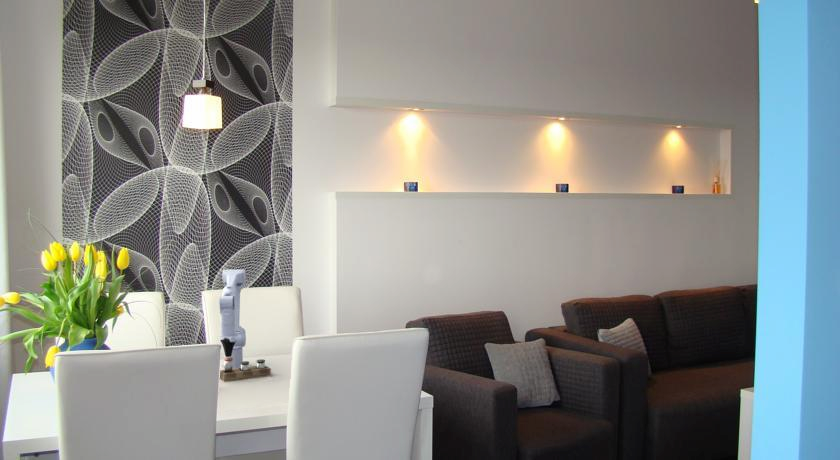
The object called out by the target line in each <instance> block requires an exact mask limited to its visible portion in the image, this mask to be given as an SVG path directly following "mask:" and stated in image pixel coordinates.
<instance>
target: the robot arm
mask: <svg viewBox="0 0 840 460" xmlns="http://www.w3.org/2000/svg"><path fill="white" fill-rule="evenodd" d="M246 273H247V271H246V269H244V268H243V269H225V268H224V269H223V270H222V274H221V275H222V276H221V277H222V284H223V286H224V287H223V289H222V294H221V297H219V301H218V305H219V313H220V337H221V338H222V339H220V342H221V345H222V347H223V351H224V355H223V356H224V358H228V357H231V358H233V360H232V369H236V368H241V362H243V361H244V360H243V359H244V357H243V354H244V353H243V352H244V351H243V348H244V347H246V343H247V342H246V341H247V337H246V336H247V335H246V330H245V328H244V327H243V326H241V325H240V312H241V311H240V310H241V291H242V290H243V289H245V287H246V280H247V279H246V278H247V274H246ZM222 367H223V368H225V364H222Z"/></svg>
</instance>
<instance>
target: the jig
mask: <svg viewBox="0 0 840 460" xmlns="http://www.w3.org/2000/svg"><path fill="white" fill-rule="evenodd" d="M270 376H272V368H270V367H269V366H267V365H265V368H263V369H257V365H255V366H249V370H247V371H241V368H236V369H233V371H232V372H225V369H220V378H219V379H220V380H221V381H223V382H232V381H239V380H247V379H254V378H262V377H270Z"/></svg>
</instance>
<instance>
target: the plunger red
mask: <svg viewBox="0 0 840 460" xmlns="http://www.w3.org/2000/svg"><path fill="white" fill-rule="evenodd" d="M232 360H233V358H231V357H228V358H225V357H223V361H224V365H225V367H224V370H225V372H232V371H233V369H232Z"/></svg>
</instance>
